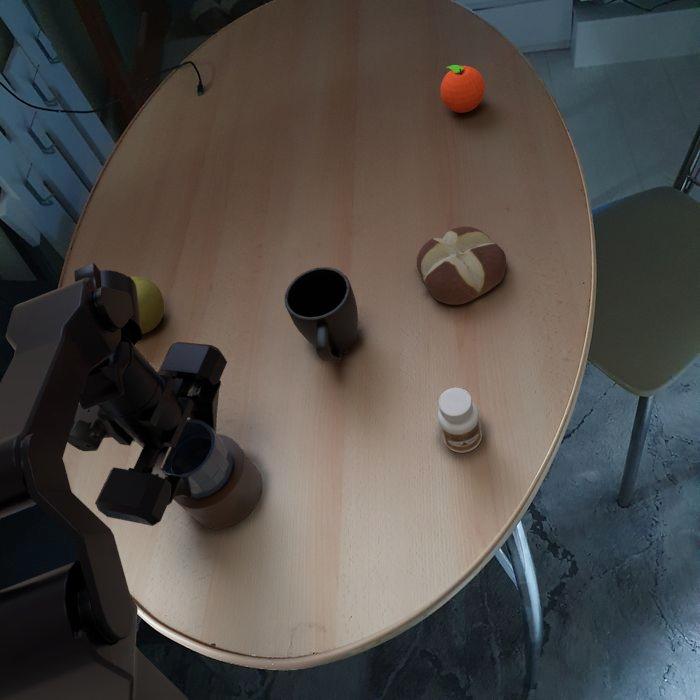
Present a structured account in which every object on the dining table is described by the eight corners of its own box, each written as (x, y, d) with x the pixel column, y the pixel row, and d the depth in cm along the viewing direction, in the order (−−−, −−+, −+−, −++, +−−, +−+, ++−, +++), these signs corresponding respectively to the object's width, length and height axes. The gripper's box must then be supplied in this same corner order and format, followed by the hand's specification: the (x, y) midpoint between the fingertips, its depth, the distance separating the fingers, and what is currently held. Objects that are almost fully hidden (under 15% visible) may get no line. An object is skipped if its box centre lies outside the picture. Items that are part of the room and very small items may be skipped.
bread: (437, 317, 86) (432, 293, 82) (410, 258, 93) (404, 233, 89) (520, 287, 86) (519, 261, 82) (486, 230, 93) (483, 203, 89)
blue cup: (221, 504, 71) (200, 483, 67) (166, 494, 73) (142, 473, 69) (243, 446, 75) (224, 423, 70) (190, 439, 77) (168, 415, 73)
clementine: (430, 107, 111) (424, 69, 106) (464, 87, 112) (459, 47, 107) (461, 127, 107) (456, 88, 101) (495, 106, 108) (492, 66, 102)
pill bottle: (449, 458, 75) (440, 425, 69) (438, 425, 77) (429, 390, 71) (487, 447, 74) (482, 412, 68) (475, 414, 77) (469, 378, 71)
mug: (306, 394, 84) (282, 351, 77) (306, 319, 91) (284, 273, 84) (370, 384, 83) (352, 339, 75) (365, 308, 90) (348, 260, 82)
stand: (247, 535, 75) (226, 515, 70) (178, 521, 78) (154, 501, 73) (272, 462, 80) (254, 438, 75) (206, 452, 83) (185, 429, 78)
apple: (183, 313, 97) (161, 281, 92) (143, 352, 95) (117, 322, 89) (153, 293, 101) (129, 261, 96) (113, 330, 99) (87, 299, 93)
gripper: (101, 302, 68) (170, 384, 80) (6, 471, 58) (100, 534, 71) (196, 309, 64) (253, 393, 77) (111, 490, 55) (191, 553, 67)
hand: (199, 464), depth 73 cm, fingers closed on blue cup, 7 cm apart
